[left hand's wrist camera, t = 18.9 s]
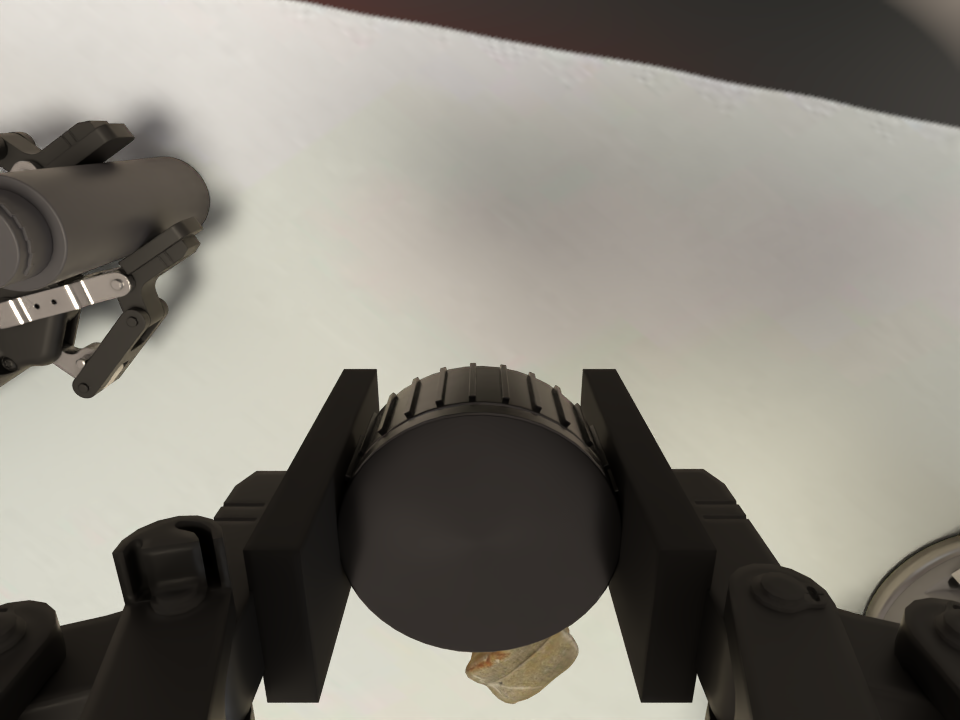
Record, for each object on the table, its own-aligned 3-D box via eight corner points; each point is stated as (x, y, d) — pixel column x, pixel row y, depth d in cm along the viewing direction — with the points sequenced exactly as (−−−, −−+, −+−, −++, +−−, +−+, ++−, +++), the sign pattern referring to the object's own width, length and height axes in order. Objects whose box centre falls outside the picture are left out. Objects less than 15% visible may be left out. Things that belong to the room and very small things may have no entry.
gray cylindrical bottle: (225, 202, 35) (60, 253, 21) (175, 249, 36) (-16, 328, 22) (167, 139, 34) (-49, 150, 20) (116, 190, 35) (-124, 234, 21)
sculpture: (567, 493, 42) (612, 678, 28) (487, 551, 44) (491, 752, 30) (512, 436, 41) (530, 601, 27) (431, 498, 42) (408, 683, 28)
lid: (387, 329, 11) (368, 372, 9) (641, 400, 12) (674, 455, 10) (331, 547, 13) (305, 621, 11) (556, 600, 13) (569, 681, 11)
